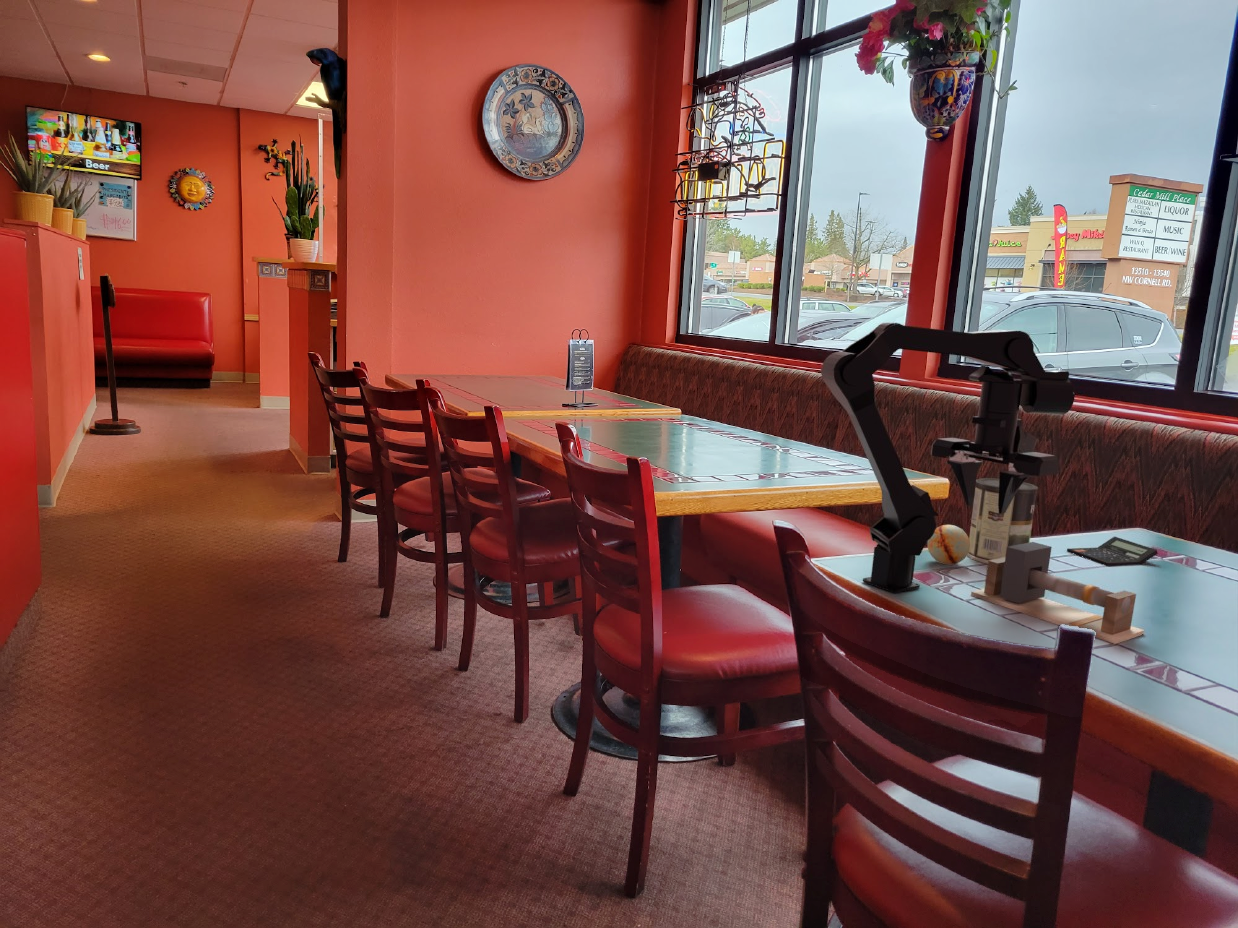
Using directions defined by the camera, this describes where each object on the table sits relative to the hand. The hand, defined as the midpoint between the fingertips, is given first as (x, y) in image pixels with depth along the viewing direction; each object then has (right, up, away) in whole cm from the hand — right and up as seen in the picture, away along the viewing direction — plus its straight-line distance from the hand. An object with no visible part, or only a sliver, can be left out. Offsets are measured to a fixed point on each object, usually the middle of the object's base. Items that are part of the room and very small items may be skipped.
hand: (985, 509), depth 136 cm
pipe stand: (+7, -15, -8) cm, 18 cm away
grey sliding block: (+4, -13, -4) cm, 14 cm away
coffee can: (+11, -10, +21) cm, 26 cm away
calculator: (+35, -11, +26) cm, 45 cm away
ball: (0, -11, +16) cm, 19 cm away
